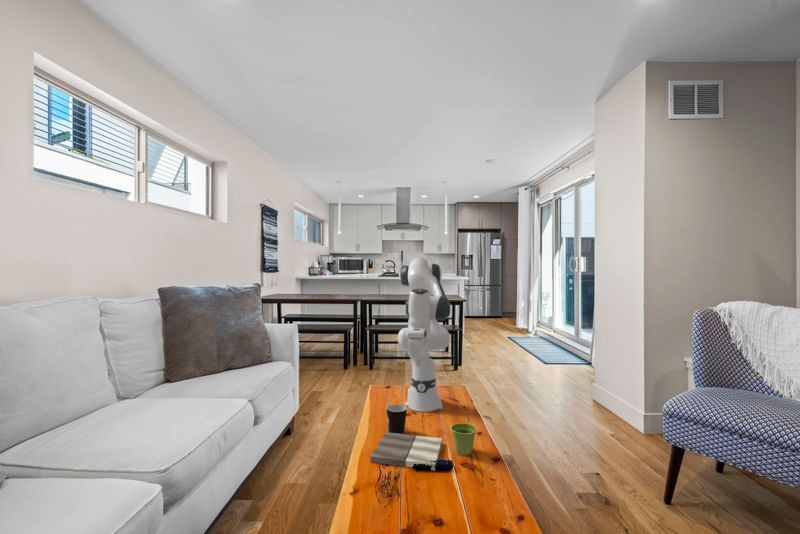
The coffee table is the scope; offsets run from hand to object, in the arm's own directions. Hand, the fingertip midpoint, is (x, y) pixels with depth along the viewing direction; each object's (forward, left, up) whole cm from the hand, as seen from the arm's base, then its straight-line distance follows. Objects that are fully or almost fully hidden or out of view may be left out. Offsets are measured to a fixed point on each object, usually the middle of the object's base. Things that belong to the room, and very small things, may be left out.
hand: (419, 365), depth 145 cm
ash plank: (+11, +4, -29) cm, 31 cm away
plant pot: (+6, +18, -29) cm, 35 cm away
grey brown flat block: (+11, -7, -29) cm, 32 cm away
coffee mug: (-6, -10, -29) cm, 31 cm away
